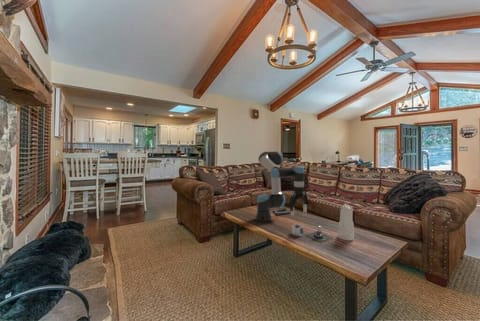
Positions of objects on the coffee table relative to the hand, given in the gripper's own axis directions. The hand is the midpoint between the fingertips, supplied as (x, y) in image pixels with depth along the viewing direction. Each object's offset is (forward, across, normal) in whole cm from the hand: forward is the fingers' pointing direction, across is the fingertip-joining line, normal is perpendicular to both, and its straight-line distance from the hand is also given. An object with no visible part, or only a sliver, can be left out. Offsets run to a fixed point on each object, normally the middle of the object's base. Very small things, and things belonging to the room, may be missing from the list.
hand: (298, 213), depth 167 cm
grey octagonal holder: (+16, -1, 0) cm, 16 cm away
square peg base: (+17, +9, -12) cm, 23 cm away
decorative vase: (+17, +27, -22) cm, 39 cm away
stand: (+17, -1, 0) cm, 17 cm away
